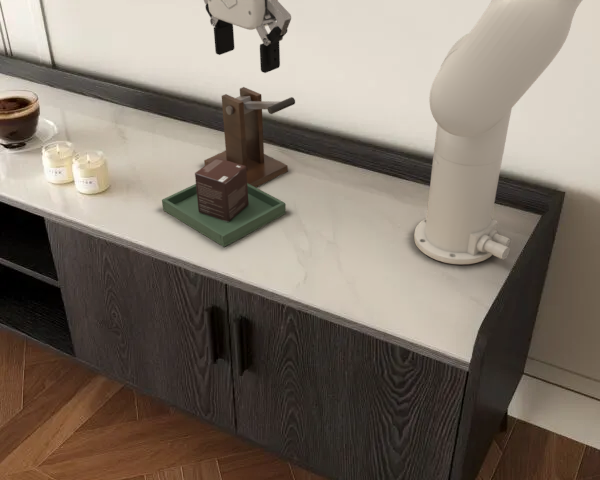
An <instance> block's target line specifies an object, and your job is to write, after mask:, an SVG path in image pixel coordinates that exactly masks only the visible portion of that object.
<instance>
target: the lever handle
mask: <svg viewBox="0 0 600 480" xmlns="http://www.w3.org/2000/svg"><path fill="white" fill-rule="evenodd" d="M235 98H236V99H238V100H241V101H243V103H244V114H246V113H248V112H251V111H253V110H254V109H262V110H267V113H268V114H269V115H273V114H275V113H278V112H280V111H282V110H284V109H286V108H289V107H291V106H294V105H295V104H296V99H295V98H294V97H293V96H290V97H289V98H286V99H284V100H281V101H279V100H278V101H275V100H274V101H271V100H270V101H268V100H267V101H266V100H265V101H263V100H262V101H251V97H250V96H240V95H239V96H237V97H235Z"/></svg>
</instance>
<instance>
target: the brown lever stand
mask: <svg viewBox="0 0 600 480" xmlns="http://www.w3.org/2000/svg"><path fill="white" fill-rule="evenodd" d="M239 96H250V97H251V101H263V100H262V94H261V93H260V92H256V91H255V90H252V89H249V88H248V87H245V86H243V87H240V88H239ZM236 98H237V97H233V96H231V95H229V94H227V93H225V94H222V95H221V108H222V119H223V120H222V121H223V131H224V145H225V146H224V147H225V150H223V151H222V152H219V153H217V154H215V155H212V156H211V157H209V158H206V159H204V160H203V164H204V166H205V165H207V164H208V163H210V162H211V161H212V160H214V159H215V158H220V159H223V160H227V161H230V162H233V163H237V164H240V165H244V166H246V171H247V183H248V184H250V185H252V186H254V187H256V188H258V187H259V186H261V185H263V184H266V183H267V182H269V181H271V180H274V179H275V178H277V177H279V176H281V175H284V174H285V173H287V172H288V171H289V166H288V164H286V163H284V162H282V161H280V160H277V159H275V158H273V157H272V156H269V155H268V154H266V153H265V145H264V123H263V109H254V110H253V111H251V112H248V113H246V114H244V103H243V101H241V100H238V99H236Z"/></svg>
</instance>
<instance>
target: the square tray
mask: <svg viewBox="0 0 600 480" xmlns="http://www.w3.org/2000/svg"><path fill="white" fill-rule="evenodd" d="M247 186H248V202H249V205H248V206H247V207H245V208H244V209H243V210H242V211H241V212H239V213H238V214H237V215H236V216H235V217H234V218H232V219H231V220H230V221H229V222H226V221H223V220H220V219H218V218H215V217H212V216H209V215H205V214H202V213H200V212H199V210H198V200H197V190H196V183H194V184H191V185H189V186H187V187H186V188H184V189H182V190H181V189H180V191H177V192H175V193H173V194H171V195H169V196H167V197H164V198H163V199H161V203H162V211H164V212H166V213H167V214H169V215H171V216H172V217H174V218H175V219H177V220H178V221H180V222H181V223H183V224H186V225H187V226H189V227H190V228H192V229H194V231H197V232H199V233H200V234H202V235H204V236H205V237H206V238H208V239H210V240H212V241H213V242H215V243H217V244H218V245H219V246H221V247H223V248H225V247H227V246H229V245H231V244H233V243H235V242H236V241H238V240H240V239H242V238H243V237H245V236H247V235H249V234H251V233H253V232H254V231H256V230H258V229H260V228H262V227H264V226H265V225H267V224H269V223H271V222H273V221H274V220H277V219H278V218H280V217H282V216H284V215H286V214H287V211H286V202H285V201H282V200H281V199H279V198H277V197H275V196H274V195H271V194H270V193H268V192H266V191H263V190H261V189H260V188H258V187H254V186H252V185H250V184H248V183H247Z"/></svg>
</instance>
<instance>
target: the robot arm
mask: <svg viewBox="0 0 600 480" xmlns="http://www.w3.org/2000/svg"><path fill="white" fill-rule="evenodd" d="M203 2H204V5H205V6H204V7H205V11H206V12H207V14H208V16H209V22H210V26H212V27H213V38H214V49H215V54H216V55H218V56H221V55H223V54H226V53H230V52H231V51H234V50H235V38H234V37H235V35H234V26H236V27H239V28H242V29H246V30H249V31H252V30H256V32H257V34H258V36H259V38H260V40H261V42H262V43H260V44H259V62H260V72H262V73H263V74H266V73H270V72H271V71H274V70H276V69H279V68H280V66H281V57H280V56H281V53H280V52H281V51H280V42H281V41H283V39H284V37H285V35H286V34H287V33H288V28H289V26H290V24H291V20H292V15H291V13H290V12H289V11H288V10H287V9H286V8H285V7H284V6H283V5H282V4H281V3H280V2H279V0H203ZM582 2H583V0H491V1H490V3H489V5H488V6H487V8H485V11H484V12H483V13H482V15H481V16H480V18H479V19H478V20H477V22H476V23H475V24H474V26H473V27H472V29H471V30H470V31H469V33H466V34H465V35H463V36H461V37H460V39H458V40H457V41H456V42H455V43H454V44H453V45H452V47H451V48H450V49H449V51H448V52H447V54H446V56H445V57H444V59H443V60H442V63H441V65H440V68H439V70H438V71H437V73H436V75H435V77H434V79H433V81H432V83H431V87H430V91H429V97H428V99H429V101H428V103H429V108H430V113H431V115H432V117H433V119H434V121H435V122H436V132H435V141H434V148H433V157H432V165H431V174H430V184H429V191H428V200H427V201H428V203H427V209H426V218H424V219H422V220H421V221H420V222H419V223H418V224H417V225H416V227H415V229H414V235H413V241H414V243H415V245H416V247H417V248H418V250H419V251H420V252H422V253H423V254H424V255H425V256H427V257H429V258H431V259H434V260H436V261H438V262H442V263H445V264H451V265H472V264H477V263H481V262H483V261H485V260H488V259H489V258H490V257H492V256H494V257H496V258H498V259H500V260H502V261H504V260H505V259H507V257H508V255H509V254H510V247H509V246H510V245H511V242H512V239H511V238H509V237H507V236H504V235H501V234H499V232H498V231H497V229H498V224H499V223H498V222H499V221H498V220H496V219H493V212H494V207H495V201H496V196H497V189H498V184H499V179H500V173H501V168H502V161H503V156H504V153H505V147H506V141H507V135H508V129H509V124H510V119H511V115H512V110H513V108H514V107H515V105H516V104H517V103H518V102H519V101H520V100H521V98H522V97H523V96H524V95H525V94H526V93H527V91H528V90H529V89H530V88H531V87H532V86H533V84H535V82H536V81H537V80H538V78H540V77H541V75H542V74H543V73H544V72H545V70H546V69H547V68H548V67H549V66H550V65H551V63H552V62H553V61H554V59H555V58H556V56H557V55H558V54H559V52H560V51H561V49H562V47H563V46H564V44H565V42H566V41H567V38H568V36H569V33H570V31H571V28H572V22H573V19H574V17H575V13H576V11H577V9H578V7H579V6H580V5H581V3H582ZM266 27H268V28H269V30H270V31H269V32H268V31H267V28H266Z"/></svg>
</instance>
